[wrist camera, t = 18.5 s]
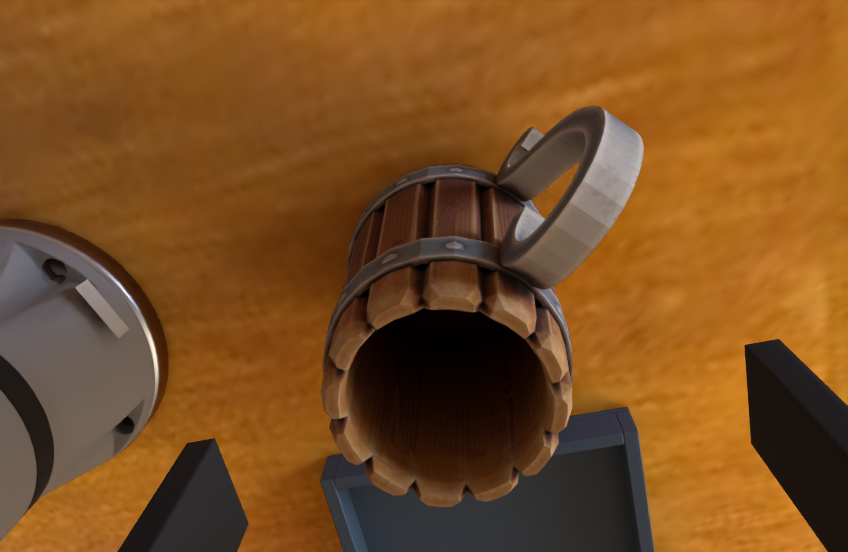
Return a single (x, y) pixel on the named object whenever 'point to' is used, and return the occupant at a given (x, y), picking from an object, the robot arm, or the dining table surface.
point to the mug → (470, 313)
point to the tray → (512, 502)
